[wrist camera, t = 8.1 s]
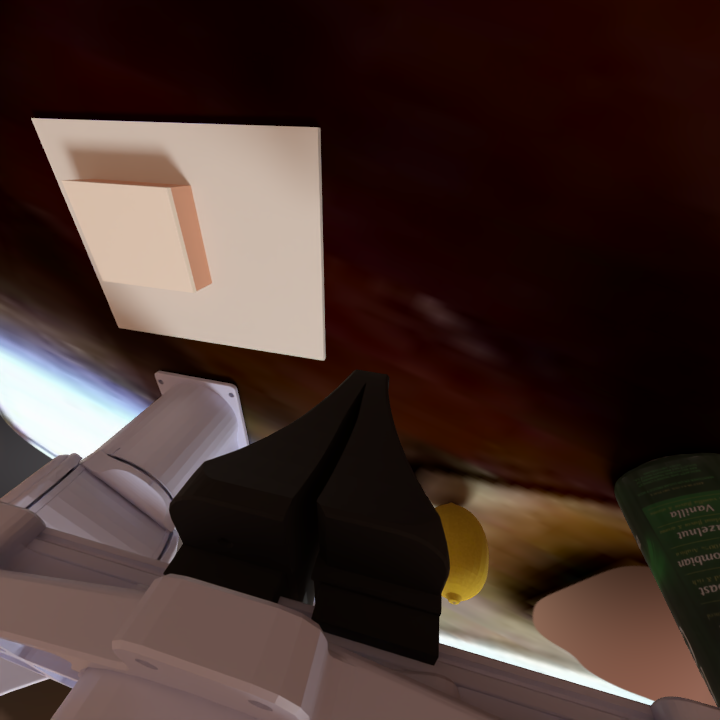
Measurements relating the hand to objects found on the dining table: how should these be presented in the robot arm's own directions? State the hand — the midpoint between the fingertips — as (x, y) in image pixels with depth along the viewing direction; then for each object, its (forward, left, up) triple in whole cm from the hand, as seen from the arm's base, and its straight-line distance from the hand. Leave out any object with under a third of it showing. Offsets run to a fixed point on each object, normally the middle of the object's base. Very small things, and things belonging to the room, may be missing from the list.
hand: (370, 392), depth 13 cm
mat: (+2, +14, -9) cm, 17 cm away
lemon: (-19, -7, -10) cm, 22 cm away
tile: (+3, +13, -8) cm, 16 cm away
